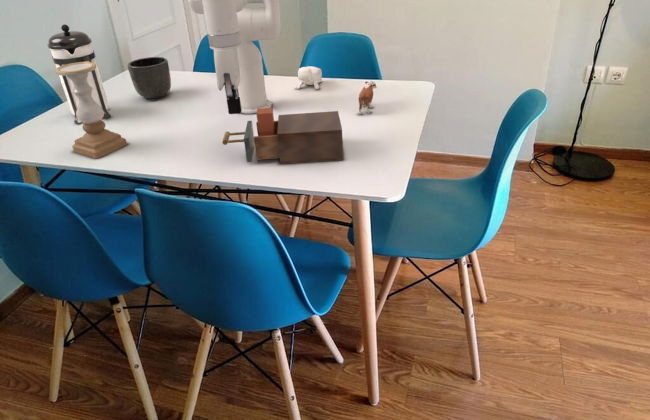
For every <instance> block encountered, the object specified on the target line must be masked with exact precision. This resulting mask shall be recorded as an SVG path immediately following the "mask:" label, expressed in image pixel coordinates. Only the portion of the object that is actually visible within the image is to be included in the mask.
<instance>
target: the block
mask: <svg viewBox="0 0 650 420" xmlns="http://www.w3.org/2000/svg"><path fill="white" fill-rule="evenodd" d="M273 108H274V107H271V108H261V109H257V113H256V122H258V130H259V136H268V135H275V126H274V121H275V119H274V109H273Z"/></svg>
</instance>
